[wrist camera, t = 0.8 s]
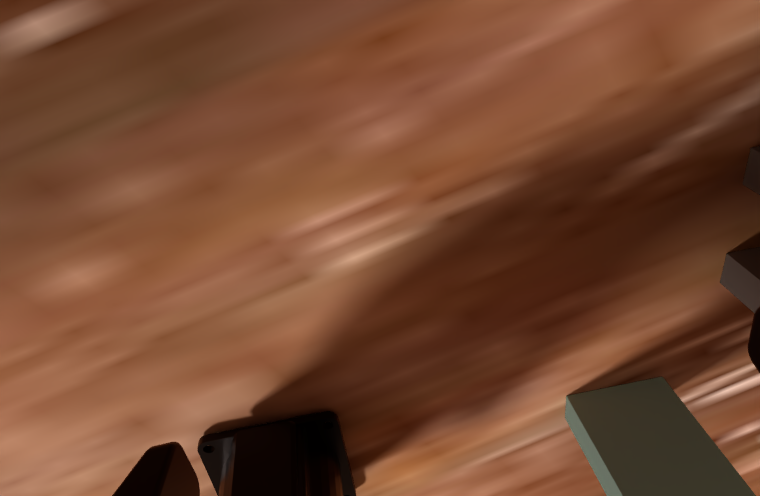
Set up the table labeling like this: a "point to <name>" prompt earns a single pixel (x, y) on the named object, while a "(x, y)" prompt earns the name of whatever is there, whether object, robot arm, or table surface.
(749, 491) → the teal domino
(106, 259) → the table surface
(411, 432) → the table surface
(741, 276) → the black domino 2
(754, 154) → the black domino
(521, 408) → the table surface
